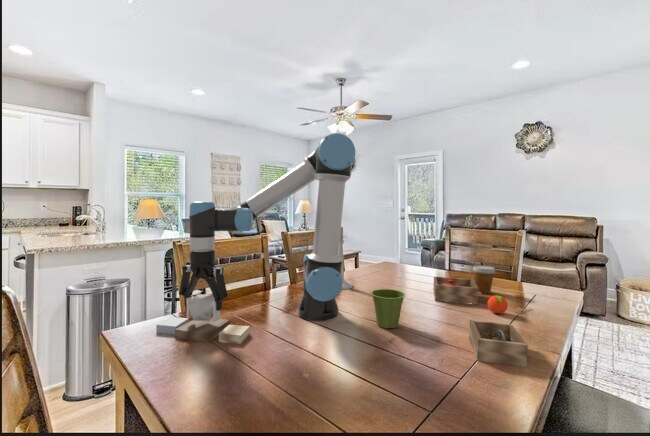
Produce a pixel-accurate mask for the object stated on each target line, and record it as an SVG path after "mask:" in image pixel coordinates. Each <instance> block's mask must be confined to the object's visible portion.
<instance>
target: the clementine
mask: <svg viewBox="0 0 650 436" xmlns="http://www.w3.org/2000/svg"><path fill="white" fill-rule="evenodd" d="M487 307H488V309H489V310H490V311H491V312H492V313H493V312H494V314H496V313H501V314H503V313H505V312H506V311H507V310H508V307H509V306H508V301H507V300H506V299H505V298H504V297H503V296H501V295H497V294H496V295H492V296H490V297H489V298H488V300H487Z"/></svg>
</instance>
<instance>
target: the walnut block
mask: <svg viewBox="0 0 650 436" xmlns="http://www.w3.org/2000/svg"><path fill="white" fill-rule="evenodd" d="M228 325H231V320H230V319H225V318H220V319H219V320H217V321H215V322H214V321H213V317H212V318H211V320H210V321H194V319H193V318H192V320H189V322H188V323H186V324H184V325H182V326H180V327H178V328H177V329H175V334H174V338H177V339H178V338H179V339H185V340H190V341H191V340H192V341H197V342H203V343H209V342H211V341H213V340H214V339H215V338H217V337H219V333H220V332H221V331H222V330H223V329H225V328H226V327H227V326H228Z"/></svg>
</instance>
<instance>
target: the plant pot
mask: <svg viewBox="0 0 650 436" xmlns="http://www.w3.org/2000/svg"><path fill="white" fill-rule="evenodd" d="M370 295H371V296H372V301H373V305H374V310H375V311H374V312H375V317H376V324H377V326H379V327H380V328H383V329H390V328H391V329H396V328H397V327H398V326H399V321H400V316H401V309H402V306H403V302H404V298H405V297H406V293H405V292H403V291H402V290H397V289H391V288H377V289H373V290H371V292H370Z"/></svg>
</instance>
